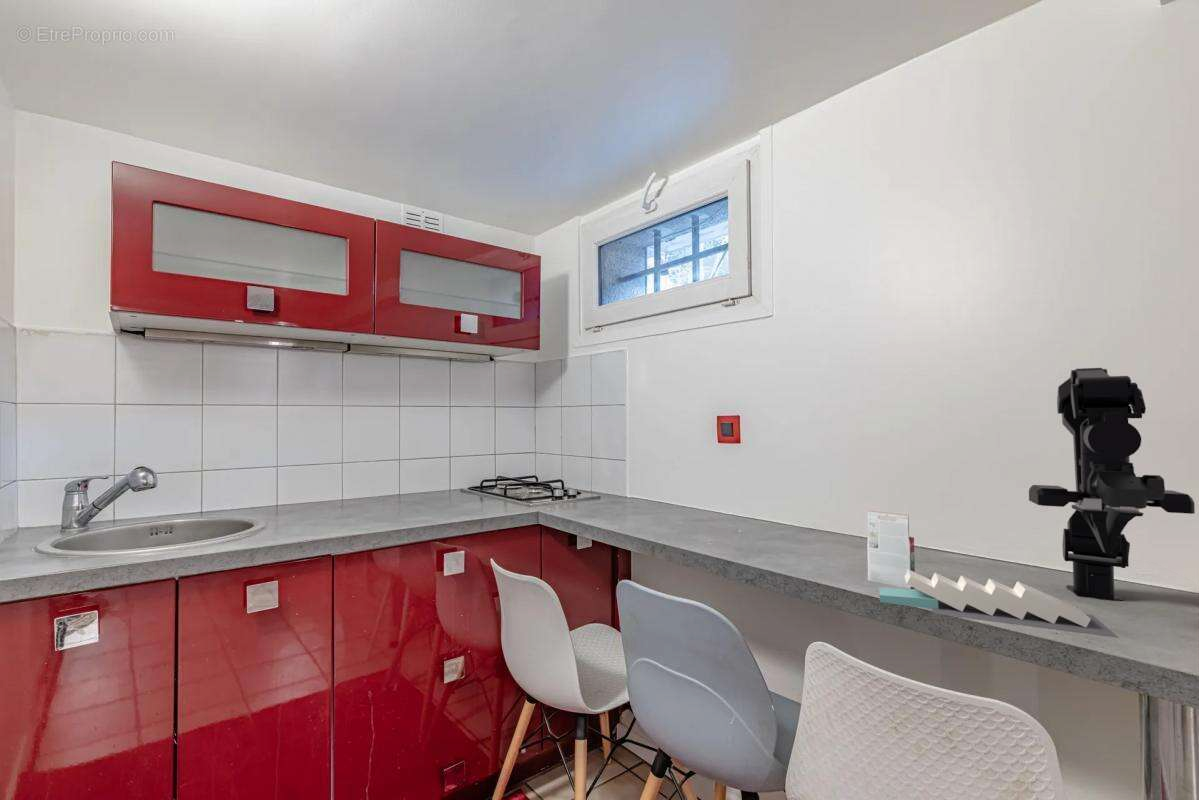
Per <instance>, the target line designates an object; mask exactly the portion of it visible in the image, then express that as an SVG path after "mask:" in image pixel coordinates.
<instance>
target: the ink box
mask: <svg viewBox="0 0 1199 800" xmlns="http://www.w3.org/2000/svg"><path fill="white" fill-rule="evenodd" d="M886 516H888V517H890V518H894V519H896V520H886V519H880V518H879V517H886ZM909 517H910V516H909V514H902V513H893V512H882V511H875V510H867V535H866V536H867V537H866V539H867V541H866V543H867V545H866V546H867V547H866V548H867V550H866V551H867V581H868V582H874V583H878V584H883V585H889V586H894V587H898V588H902V589H908V590H912V589H914V588H913V587H911V586H909V585H907V584H906V580H905V575H906V573H907V571H908V569H909V570H911V571H913V572H915V573H916V567H915V565H916V564H915V537H913V536H910V530H909V529H910V528H909V527H910V525H909V523H910V522H909V521H910V519H909Z"/></svg>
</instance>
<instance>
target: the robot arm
mask: <svg viewBox="0 0 1199 800" xmlns="http://www.w3.org/2000/svg"><path fill="white" fill-rule="evenodd" d="M1056 399H1057V401H1056V402H1057V403H1056V410H1057V415H1058V414H1061V420H1062V421H1061V422H1062V425H1063V426H1064V428H1065V429H1066V430H1067V431H1068V432H1069V433H1070V434H1071V436H1072V437H1073V438H1072V440H1073V441H1072V443H1073V456H1074V458H1073V461H1074V473H1075V474H1074V475H1075V491H1074V490H1068V488H1065V487H1062V486H1059V485H1048V484H1047V485H1045V484H1043V485H1042V484H1032V485H1031V486H1030V487H1029V489H1028V501H1029V502H1030V503H1034V504H1035V505H1037V506H1043V507H1058V508H1059V507H1061V508H1063V507H1065V506H1067V505H1068V504H1069V503H1073V504H1071V509H1073V510H1074V512H1073V513H1072V514H1071V516H1070V517H1069V519H1068V520H1067V528H1063V531H1062V532H1063V534H1062V543H1061V544H1062V557H1063V560H1064V562H1072V576H1073V577H1072V580H1073V583H1072V585H1071V584H1070V585H1068V584H1067V585H1066V586H1065V588H1066V589H1067V590H1069V591H1070V592H1072V593H1073V594H1074V595H1076V596H1077V597H1079V598H1080V597H1081V598H1089V599H1098V600H1099V599H1100V600H1107V601H1108V600H1109V601H1115V602H1124V599H1123V598H1122V597H1120V596H1119V595H1118V594H1116V593H1115V575H1114V573H1115V569H1114V568H1115V567H1117V568H1121V569H1126V568H1127V567H1129V566H1130V565H1129V557H1130V556H1129V555H1130V548H1131V543H1130V542H1129V541H1128V540H1127V537H1126V536H1125V535H1126V534H1124V533H1123V531H1124V529H1125V528H1126V526H1127V524H1128V523H1129V522H1131V520H1133V519H1134V518H1135V517H1143V516H1144V512H1141V511H1140V510H1142V509H1146V508H1147V507H1152V508H1161V509H1162V510H1163V511H1165V512H1166V513H1172V514H1175V513H1176V514H1189V515H1190V514H1191V515H1192V514H1195V511H1196V510H1195V502H1194V499H1193V497H1191V496H1190V495H1189V494H1187V493H1185V492H1184V493H1183V492H1179V491H1176V490H1168V489H1166V487H1165V485H1166V484H1165V479H1164V477H1162V476H1161V475H1155V474H1143V475H1142V476H1136V473H1135V467H1134V464H1133V463H1134V462H1131V461H1130V456H1132V455H1134V454H1135V453H1136V452H1138V450H1140V449H1139V448H1140V447H1141V445H1142V436H1141V434H1140V432H1139V430H1138V429H1137V428H1136V427H1135V426H1134V425H1132V424H1131V423H1129V419H1142V418H1143V415H1145V414H1146V408H1147V406H1146V403H1145V399H1144V396H1143V391H1142V389H1140V388H1139V387H1138V384H1137V382H1132V380H1131V378H1130V376H1129V375H1116V376H1115V375H1112V376H1111V375H1110V374H1108V370H1107V368H1102V367H1091V368H1089V367H1088V368H1087V367H1086V368H1085V367H1084V368H1075V369H1072V370H1070V377H1069V378H1068V379H1066V380H1065V381H1064V382H1063V383H1061V384H1059V386H1058V387H1057V398H1056Z"/></svg>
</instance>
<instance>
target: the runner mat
mask: <svg viewBox="0 0 1199 800" xmlns="http://www.w3.org/2000/svg"><path fill="white" fill-rule="evenodd" d="M938 608H939V609H932V608H931V610H932V613H933V614H934V615H940V616H949V617H955V618H963V619H964V618H965V619H969V620H978V621H986V622H987V621H988V622H992V623H993V622H995V623H1000V624H1001V623H1003V624H1010V625H1017V626H1019V625H1020V626H1024V627H1025V626H1027V627H1034V628H1040V629H1049V630H1056V631H1065V632H1072V633H1079V634H1087V635H1095V636H1102V637H1112V638H1118V639H1119V638H1120V636H1118V635H1117V634H1115V632H1113V631H1112V630H1111V629H1110V628H1109V627H1107V626H1106V625H1105V624H1104V623H1103V622H1101V621H1100V620H1099V619H1098V618H1097V617H1096V616H1094V615H1093V614H1086V613H1085V614H1086V615H1087V616H1088V617H1089V618H1090V619H1091V620H1090V622H1089V623H1088V625H1087V627H1083V626H1081V625H1079V624H1077V623H1075V622H1072V621H1070V620H1068V619H1066V618H1064V617H1062V616H1058V618H1057V620H1056V622H1055V623H1054V624H1053V623H1051V622H1049V621H1047V620H1045V619H1043V618H1040V617H1038V616H1036V615H1034V614H1032V613H1030V612H1026V614H1025V616H1024V618H1023V620H1021V619H1019V618H1017V617H1015V616H1013V615H1011V614H1009V613H1007V612H1005V611H1003V610H1001V609H998V608H996V610H995V612H994V614H993V616H991V615H989V614H987V613H985V612H983V611H981V610H979V609H977V608H975V607H973V606H971V605H969V604H966V606H965V608H964V610H963V611H960V610H958V609H956V608H954V607H952V606H950V605H948V604H946V603H944V602H942V601H940V600H938Z"/></svg>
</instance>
